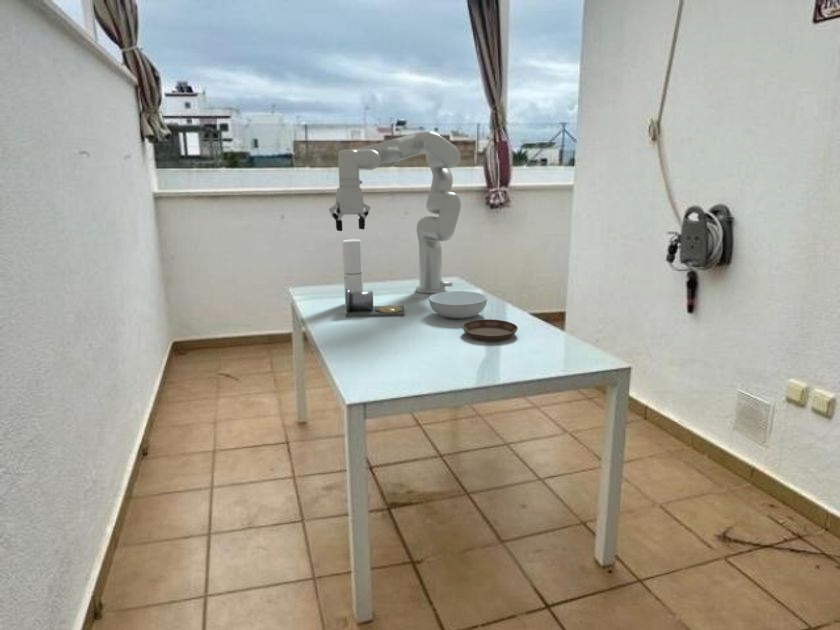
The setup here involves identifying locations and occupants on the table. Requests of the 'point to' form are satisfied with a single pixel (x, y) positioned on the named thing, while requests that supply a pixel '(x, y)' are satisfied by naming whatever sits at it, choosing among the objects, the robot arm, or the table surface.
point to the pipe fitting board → (373, 313)
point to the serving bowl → (458, 303)
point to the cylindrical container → (352, 265)
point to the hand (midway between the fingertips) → (350, 229)
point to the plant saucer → (489, 330)
